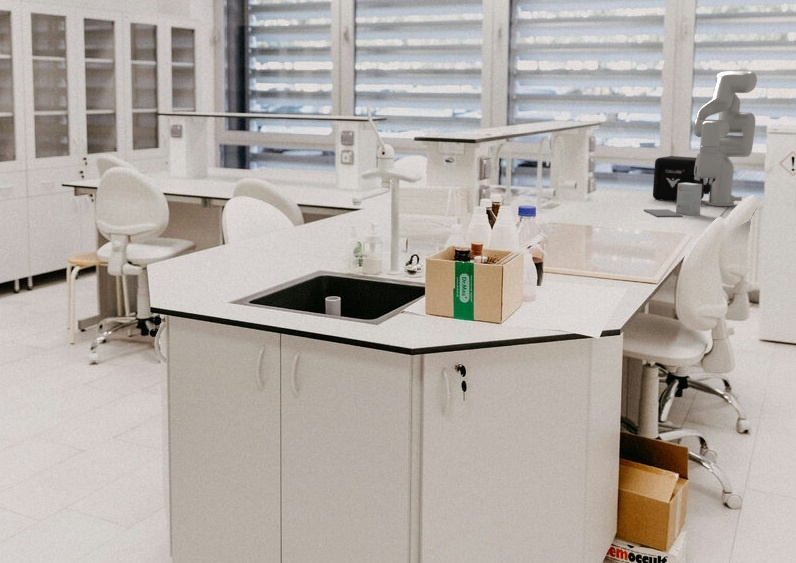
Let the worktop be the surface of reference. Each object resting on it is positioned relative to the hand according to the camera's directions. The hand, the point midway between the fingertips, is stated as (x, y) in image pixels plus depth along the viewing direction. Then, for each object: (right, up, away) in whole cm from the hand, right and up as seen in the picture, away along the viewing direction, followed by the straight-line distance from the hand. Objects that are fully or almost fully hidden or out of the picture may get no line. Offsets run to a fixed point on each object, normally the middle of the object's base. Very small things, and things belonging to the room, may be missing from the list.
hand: (705, 193), depth 391 cm
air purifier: (+2, +1, +46) cm, 46 cm away
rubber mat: (-18, -9, +1) cm, 20 cm away
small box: (-7, -9, +2) cm, 11 cm away
